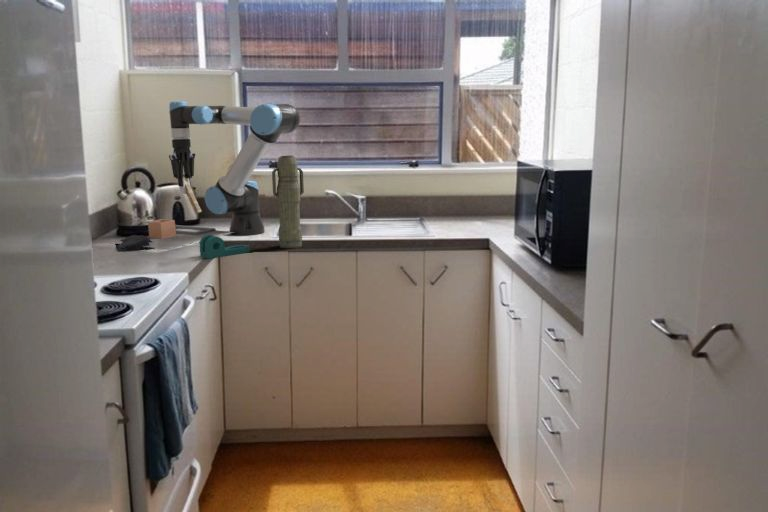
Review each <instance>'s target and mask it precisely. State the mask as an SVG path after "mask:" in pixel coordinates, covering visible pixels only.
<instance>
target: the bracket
mask: <svg viewBox="0 0 768 512" xmlns="http://www.w3.org/2000/svg"><path fill="white" fill-rule="evenodd" d="M250 252H251V251H250V245H248V244H238V245H230V246H226V244H225V241H224V240H223V238H222V237H219V236H216V235H212V234H205V235H203V236H202V237H201V238H200V240H199V256H200V257H201V258H205V259H208V260H212V259H217V258H224V257H229V256H235V255H243V254H248V253H250Z"/></svg>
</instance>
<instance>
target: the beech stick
mask: <svg viewBox="0 0 768 512" xmlns="http://www.w3.org/2000/svg"><path fill="white" fill-rule="evenodd" d="M183 179H185V190H186V194H185V195H186V197H187V199H188V201H189V204H190V205H191V207H192V210H193V211H194V213H195V214H196V215H197V214H200V213H202V212H203V210H202V209H201V207H200V205H199V202H198V201H197V198H196V196H195V194H194V192H193V190H192V187H191V185H190V186H189V184H188V182H187V180H186V177H185V174H184V173H183Z"/></svg>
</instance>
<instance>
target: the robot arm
mask: <svg viewBox="0 0 768 512" xmlns="http://www.w3.org/2000/svg"><path fill="white" fill-rule="evenodd" d="M168 112H169V117H170V118H169V119H170V130H171V138H172V140H171V144H172V145H171V147H172V148H173V153H172V154H169V155H168V158H169V160H170V164H171V169H172V173H173V174H172V175H173V178H175V179H177V183H178V184H177V185H178V187H179V195H186V190H185V179H183V174H184V175H185V177H186V180H187V182H188V184H189V186H190V187H191V179H192V178H193V177H194V176H195V175H194V174H195V158H196V153H193V152H191V149H190V148H191V147H192V145H191V139H190V137H191V132H190V125H210V124H211V125H213V124H215V125H216V124H218V125H219V124H221V125H235V126H236V125H238V126H241V125H242V126H249V131H250V134H249V135H248V137H247V139H246V140H245V141H244V144H243V145H242V147H241V149H240V150H239V153H238V154H237V156H236V157H235V159H234V161H233V162H232V164H231V166H230V167H229V169H228V171H227V172H226V174H225V175H223V176H220V178H219V179H218V180H217V182H216V183H215V185H214V186H210V187H208V188H207V189H206V190H205V192H204V202H205V206H206V207H207V209H208V210H209V211H210V212H211V213H213V214H215V215H225V214H228V213H232V218H231V222H230V226H229V234H230V235H233V236H251V235H252V236H254V235H259V234H263V233H265V231H266V230H265V225H264V224H263V221H262V217H261V213H260V196H259V193H260V190H259V186H258V182H257V181H255V180H249V179H250V177H251V176H252V174H253V172H254V170H255V169H256V167H258V164H259V163H260V161H261V159H262V158H263V156H264V155H265V153H266V152H267V150H268V148H269V147H270V145H275V144H276V142H277V141H278V139H279V138H280V136H281V135H282V134H284V135H285V134H289V133H292V132H294V131H295V130H297V129H298V127H299V125H300V123H301V115H300V112H299V111H298V109H297V108H296V107H295V106H294V105H292V104H289V103H269V102H268V103H263V104H259V105H257V106H255V107H254V106H253V107H252V106H251V107H250V106H232V105H230V106H229V105H227V106H226V105H201V104H200V105H190V106H189V104H188V102H187V101H171V102H170V103H169V111H168Z"/></svg>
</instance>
